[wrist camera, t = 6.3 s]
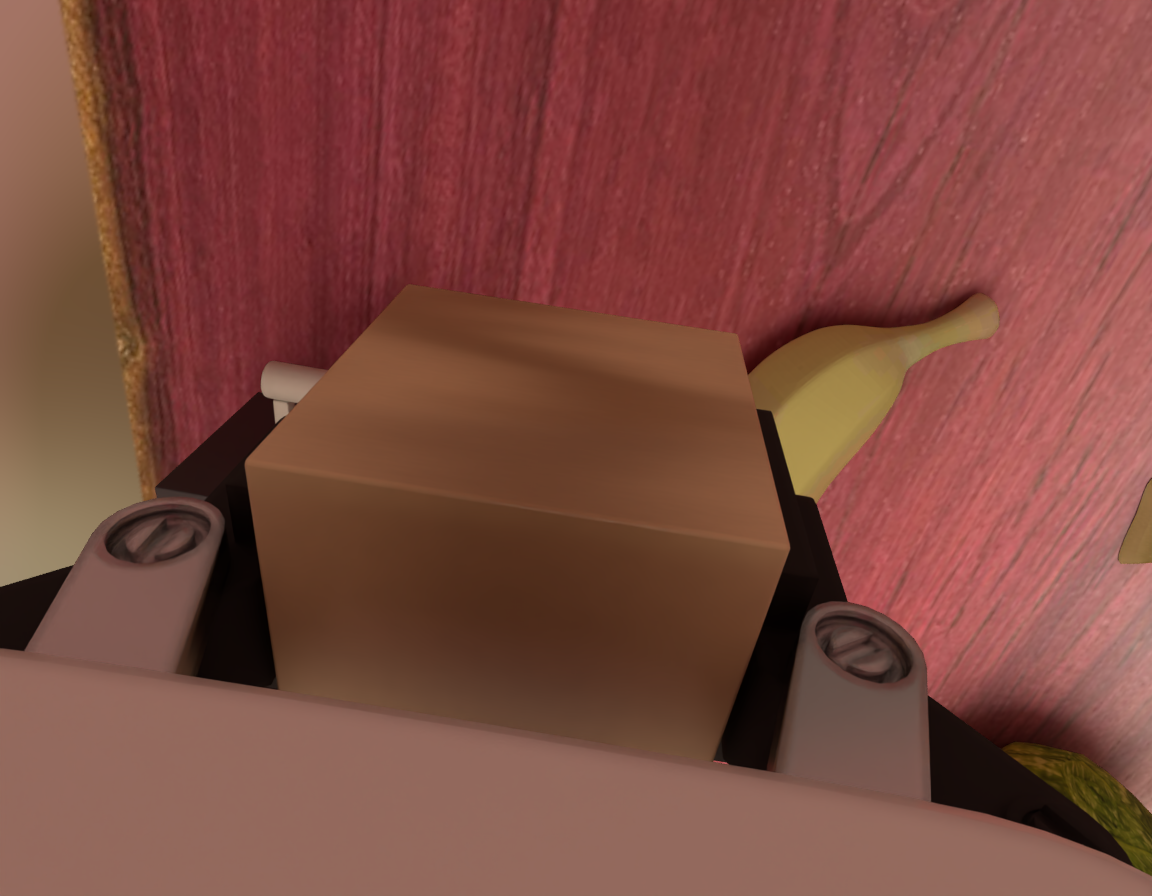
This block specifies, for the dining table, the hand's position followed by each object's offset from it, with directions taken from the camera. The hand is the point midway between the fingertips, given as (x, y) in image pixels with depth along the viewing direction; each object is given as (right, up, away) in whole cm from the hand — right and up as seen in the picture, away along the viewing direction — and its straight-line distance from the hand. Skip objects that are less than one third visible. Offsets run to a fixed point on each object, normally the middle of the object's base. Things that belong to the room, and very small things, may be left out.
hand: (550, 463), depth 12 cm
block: (0, 0, 0) cm, 0 cm away
